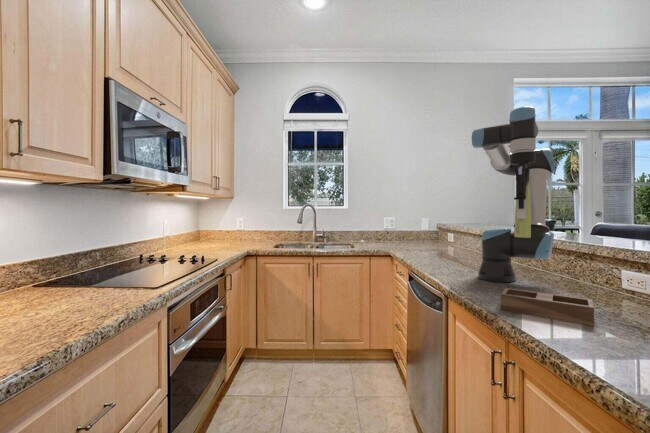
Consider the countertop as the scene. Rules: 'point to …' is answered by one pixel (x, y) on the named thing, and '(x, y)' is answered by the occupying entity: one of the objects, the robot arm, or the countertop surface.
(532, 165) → the robot arm
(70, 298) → the countertop surface
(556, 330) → the countertop surface
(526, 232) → the tube
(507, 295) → the brown wooden slotted holder
